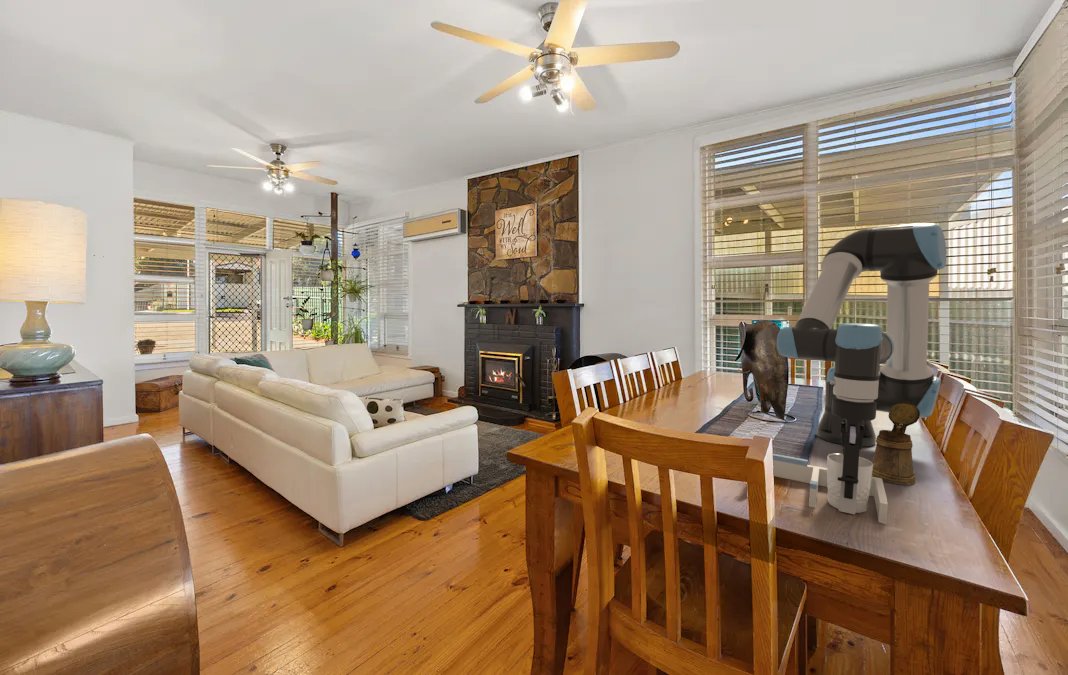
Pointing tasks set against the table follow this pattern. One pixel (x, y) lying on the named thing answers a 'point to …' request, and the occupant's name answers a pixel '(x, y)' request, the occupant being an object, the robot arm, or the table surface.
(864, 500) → the white cup
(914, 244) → the robot arm
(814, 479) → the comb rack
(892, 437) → the wooden mug
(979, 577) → the table surface
